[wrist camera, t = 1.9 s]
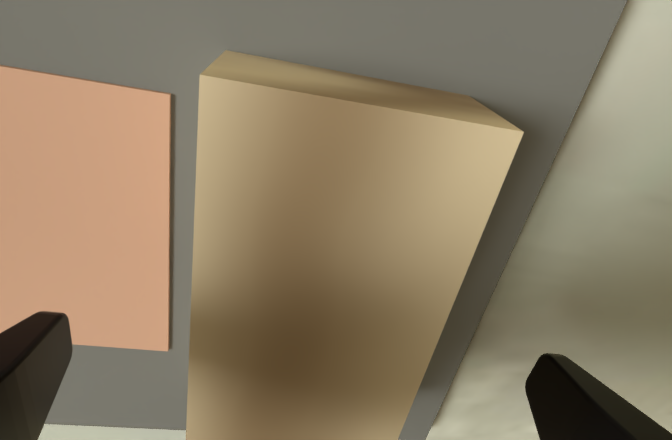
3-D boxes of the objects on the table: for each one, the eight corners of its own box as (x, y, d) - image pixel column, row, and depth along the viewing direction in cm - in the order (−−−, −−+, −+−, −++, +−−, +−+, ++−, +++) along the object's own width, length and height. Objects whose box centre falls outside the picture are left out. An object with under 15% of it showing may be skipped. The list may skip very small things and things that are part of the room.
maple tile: (468, 95, 9) (523, 131, 7) (371, 387, 13) (386, 467, 11) (225, 49, 8) (199, 74, 6) (204, 376, 12) (185, 461, 10)
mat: (612, -13, 9) (636, -13, 8) (420, 425, 15) (425, 444, 15) (-744, -346, 5) (-875, -387, 5) (-251, 390, 12) (-280, 411, 11)
